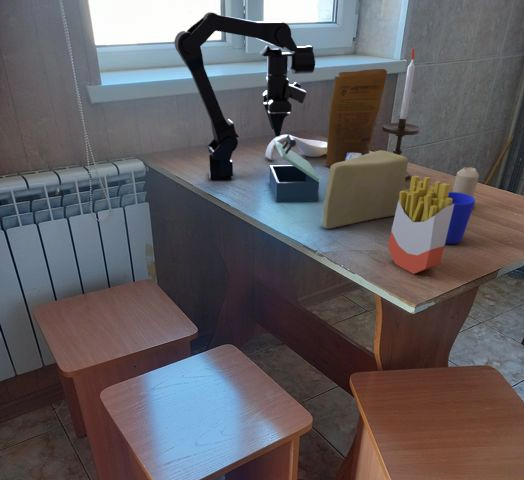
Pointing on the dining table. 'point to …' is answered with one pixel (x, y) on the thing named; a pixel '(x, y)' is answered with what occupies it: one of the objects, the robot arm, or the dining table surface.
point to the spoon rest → (300, 147)
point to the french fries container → (421, 225)
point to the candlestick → (404, 114)
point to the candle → (466, 181)
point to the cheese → (364, 188)
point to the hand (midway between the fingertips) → (275, 132)
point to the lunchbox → (292, 184)
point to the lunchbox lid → (295, 157)
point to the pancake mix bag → (353, 113)
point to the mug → (459, 216)
